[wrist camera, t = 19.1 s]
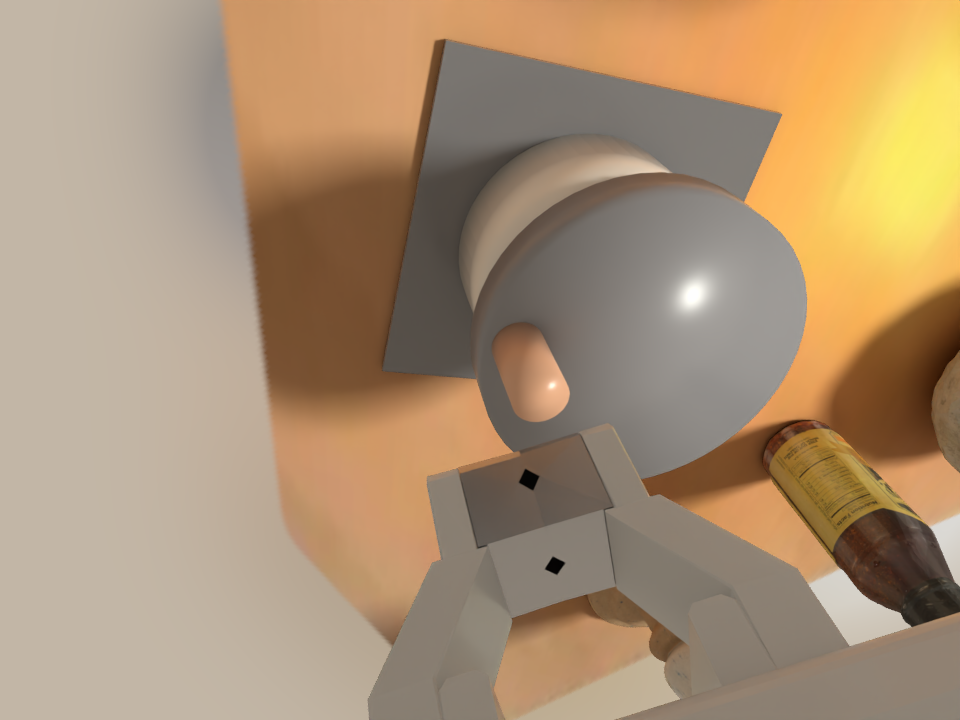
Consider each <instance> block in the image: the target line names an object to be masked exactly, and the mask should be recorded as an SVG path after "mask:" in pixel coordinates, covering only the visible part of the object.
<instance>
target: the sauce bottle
mask: <svg viewBox="0 0 960 720" xmlns="http://www.w3.org/2000/svg"><path fill="white" fill-rule="evenodd" d="M763 466H764V468H765V470H766V471H767V472H768V474H769V475H770V476H771V479H772V482H773V483H774V485H775V486H776V487H777V489H778V490H779V491H780V493H781V494H782V495H783V496H784V498H785V499H786V500H787V502H788V503H789V504H790V506H791V507H792V508H793V509H794V511H795V512H796V513H797V514H798V516H799V517H800V518H801V519H802V521H803V522H804V523H805V525H806V526H807V527H808V529H809V530H810V531H811V532H812V534H813V535H814V536H815V538H816V539H817V540H818V541H819V543H820V544H821V545H822V546H823V548H824V549H825V550H826V552H827V553H828V554H829V555H830V557H831V558H832V559H833V560H834V562H835V563H836V564H837V566H838V567H839V568H841V569H842V570H843V571H844V572H845V573H846V574H847V575H848V577H849V578H850V580H851V581H852V582H853V584H854V585H855V586H856V587H857V589H858V590H859V591H860V592H861V593H862V594H863V595H865V596H866V597H868V598H869V599H870V600H872V601H874V602H876V603H877V604H880V605H883V606H884V607H886V608H888V609H891V610H894V611H897V612H900V613H901V615H902V617H903V619H904V620H905V622H906V623H908V624H909V625H911V627H914V626H917V625H920V624H924V623H927V622H930V621H933V620H936V619H940V618H943V617H946V616H949V615H952V614H956V613H959V612H960V587H959V586H958V585H957V584H956V583H955V582H954V579H953V577H952V574H951V572H950V570H949V568H948V565H947V563H946V561H945V558H944V556H943V553H942V551H941V549H940V546H939V544H938V541H937V539H936V537H935V535H934V533H933V531H932V530H931V529H930V528H929V527H928V525H927V524H926V523H925V522H924V521H923V520H922V519H921V518H920V517H919V516H918V515H917V514H916V513H915V512H914V511H913V510H912V509H911V508H910V507H909V506H908V505H907V504H906V503H905V502H904V501H903V500H902V499H901V498H900V497H899V496H898V495H897V494H896V493H895V492H894V491H893V489H892V488H891V487H890V486H889V485H888V484H887V483H886V482H884V480H883V479H882V478H881V477H880V476H879V475H878V474H877V473H876V472H875V471H874V470H873V469H872V468H871V467H870V466H869V465H868V464H867V463H866V462H865V461H864V460H863V458H862V457H861V456H860V455H859V454H858V453H857V452H856V451H855V450H854V449H853V448H852V447H851V446H850V445H849V444H848V443H847V442H846V441H845V440H844V439H843V438H842V437H841V436H840V435H839V434H838V433H836V432H834V431H833V430H831V429H830V428H829V427H828V426H827V425H826V424H824V423H821V422H818V421H815V420H814V421H801V422H798V423H795V424H792V425H789V426H788V427H785V428H784V429H783V430H781V431H780V432H778V433H777V434H776V435H775V436H774V437H773V438H772V439H770V440H769V443H768V445H767V447H766V449H765V453H764V457H763Z"/></svg>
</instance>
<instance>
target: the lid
mask: <svg viewBox="0 0 960 720" xmlns="http://www.w3.org/2000/svg"><path fill="white" fill-rule="evenodd" d="M806 311H807V294H806V285H805V279H804V275H803V272H802V268H801V265H800V262H799V260H798V258H797V256H796V254H795V252H794V250H793V248H792V247H791V245H790V244H789V243H788V241H787V240H786V239H785V237H784V236H783V235H782V233H781V232H780V231H778V230H777V229H776V228H775V227H774V226H773V225H772V224H771V223H770V222H769V221H768V220H766V219H765V218H764V217H762V216H761V215H760V214H759V213H757V212H756V211H755V210H753V209H752V208H751V207H749V206H748V205H747V204H745V203H744V202H743V201H742V200H740V199H739V198H738V197H736V196H735V195H733V194H732V193H730V192H728V191H727V190H725V189H724V188H722V187H720V186H718V185H716V184H713V183H711V182H709V181H706V180H704V179H700V178H697V177H693V176H689V175H685V174H676V173H666V172H655V173H638V174H632V175H626V176H621V177H616V178H613V179H610V180H606V181H603V182H600V183H596V184H594V185H591V186H589V187H587V188H585V189H582V190H580V191H578V192H575V193H573V194H572V195H570V196H568V197H566V198H565V199H563V200H561V201H560V202H558V203H556V204H554V205H553V206H551V207H550V208H549V209H547V210H546V211H545V212H543V213H542V214H541V215H539V216H538V217H537V218H535V219H534V220H533V221H532V222H531V223H530V224H529V225H528V226H526V227H525V228H524V229H523V230H522V231H521V232H520V233H519V234H518V235H517V236H516V237H515V238H514V240H513V241H512V242H511V243H510V244H509V246H508V247H507V248H506V249H505V250H504V252H503V253H502V254H501V255H500V257H499V259H498V260H497V262H496V263H495V265H494V266H493V268H492V269H491V271H490V272H489V275H488V277H487V279H486V281H485V283H484V285H483V287H482V289H481V291H480V294H479V297H478V300H477V303H476V306H475V309H474V314H473V319H472V325H471V334H470V351H471V359H472V366H473V370H474V373H475V376H476V380H477V383H478V386H479V389H480V392H481V395H482V398H483V401H484V404H485V407H486V410H487V413H488V416H489V418H490V420H491V422H492V424H493V426H494V428H495V430H496V432H497V433H498V435H499V436H500V437H501V439H502V440H503V441H504V443H505V444H506V445H507V446H508V447H509V448H510V449H511V450H512V451H513V452H517V451H519V450H522V449H525V448H528V447H532V446H535V445H538V444H541V443H544V442H548V441H551V440H554V439H557V438H561V437H564V436H567V435H570V434H574V433H578V432H580V431H583V430H587V429H590V428H593V427H596V426H600V425H603V424H606V423H609V424H610V425H612V426H613V428H614V430H615V431H616V433H617V435H618V437H619V439H620V441H621V443H622V445H623V447H624V448H625V450H626V452H627V454H628V456H629V458H630V460H631V462H632V464H633V465H634V467H635V469H636V471H637V473H638V475H639V477H640V479H644V478H649V477H653V476H656V475H659V474H662V473H665V472H669V471H671V470H674V469H676V468H679V467H681V466H683V465H686V464H688V463H690V462H692V461H694V460H696V459H698V458H700V457H702V456H704V455H705V454H707V453H709V452H710V451H712V450H713V449H715V448H717V447H718V446H720V445H721V444H723V443H724V442H725V441H727V440H728V439H729V438H731V437H732V436H733V435H735V434H736V433H737V432H739V431H740V430H741V429H742V428H743V427H744V426H745V425H746V424H747V423H748V422H749V421H751V420H752V419H753V418H754V417H755V416H756V415H757V413H758V412H759V411H760V410H761V409H762V408H763V407H764V406H765V405H766V404H767V402H768V401H769V400H770V398H771V397H772V396H773V394H774V393H775V392H776V390H777V389H778V388H779V386H780V384H781V383H782V381H783V379H784V378H785V376H786V374H787V373H788V371H789V369H790V367H791V365H792V363H793V361H794V358H795V356H796V354H797V351H798V348H799V345H800V342H801V339H802V336H803V331H804V326H805V321H806Z"/></svg>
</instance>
